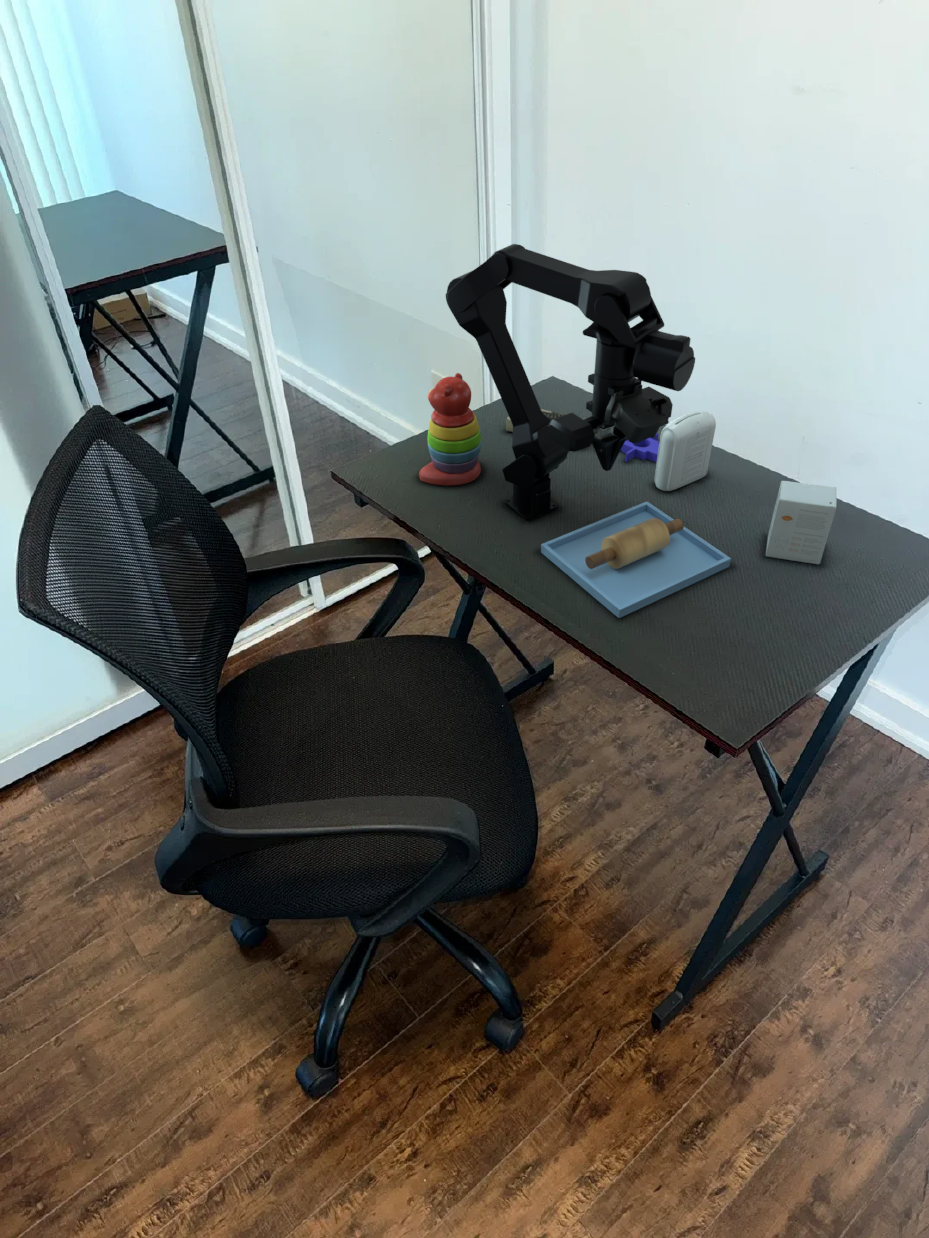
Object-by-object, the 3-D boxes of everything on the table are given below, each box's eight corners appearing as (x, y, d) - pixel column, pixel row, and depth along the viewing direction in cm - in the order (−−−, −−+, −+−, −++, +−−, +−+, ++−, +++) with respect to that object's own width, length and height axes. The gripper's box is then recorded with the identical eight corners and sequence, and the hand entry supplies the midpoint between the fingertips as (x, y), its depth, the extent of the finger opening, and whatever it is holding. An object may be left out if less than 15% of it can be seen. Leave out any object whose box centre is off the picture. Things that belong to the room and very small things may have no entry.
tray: (540, 552, 129) (541, 544, 128) (645, 509, 137) (646, 501, 136) (618, 618, 117) (619, 609, 116) (729, 566, 125) (731, 558, 124)
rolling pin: (577, 567, 125) (579, 540, 122) (666, 530, 131) (670, 503, 128) (598, 584, 122) (601, 557, 118) (688, 545, 128) (693, 518, 125)
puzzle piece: (627, 430, 157) (628, 422, 156) (682, 450, 151) (683, 442, 150) (596, 450, 152) (597, 442, 151) (651, 471, 146) (652, 463, 145)
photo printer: (692, 466, 147) (703, 401, 139) (710, 476, 144) (722, 411, 136) (649, 484, 143) (658, 419, 135) (667, 495, 140) (676, 429, 132)
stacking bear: (443, 452, 154) (437, 361, 142) (492, 463, 150) (490, 370, 138) (414, 480, 146) (406, 386, 135) (465, 493, 143) (462, 397, 131)
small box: (820, 545, 128) (838, 486, 121) (819, 566, 124) (838, 507, 117) (766, 536, 130) (781, 479, 123) (764, 557, 126) (779, 498, 119)
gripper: (598, 411, 105) (590, 514, 115) (706, 374, 112) (690, 474, 122) (547, 380, 113) (544, 479, 123) (652, 347, 119) (640, 443, 130)
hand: (606, 469), depth 124 cm, fingers closed
